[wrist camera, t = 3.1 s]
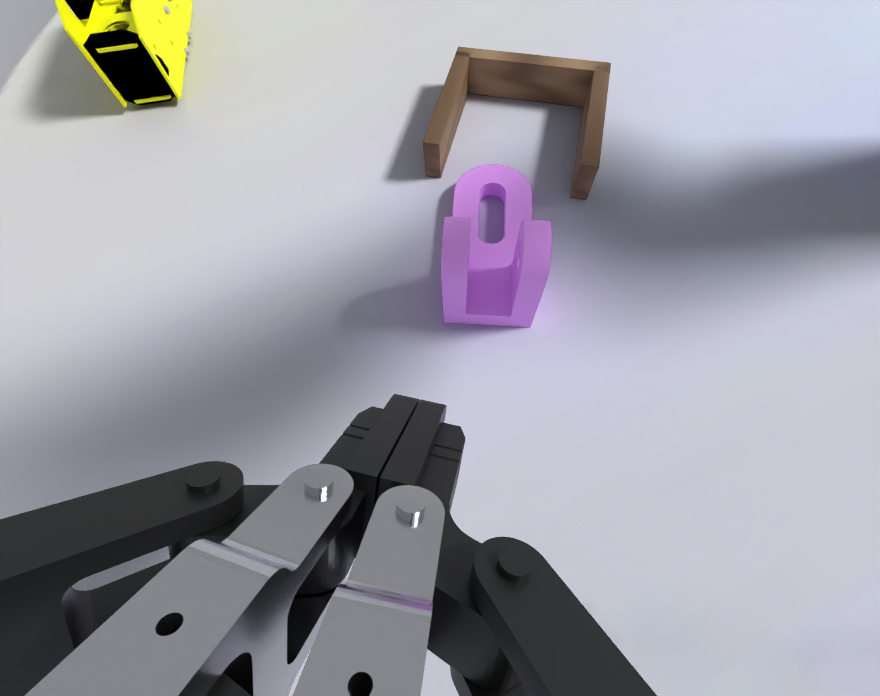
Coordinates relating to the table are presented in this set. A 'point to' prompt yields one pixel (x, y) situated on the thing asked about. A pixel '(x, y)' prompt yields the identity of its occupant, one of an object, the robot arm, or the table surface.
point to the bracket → (494, 253)
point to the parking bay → (525, 82)
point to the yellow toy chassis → (132, 44)
